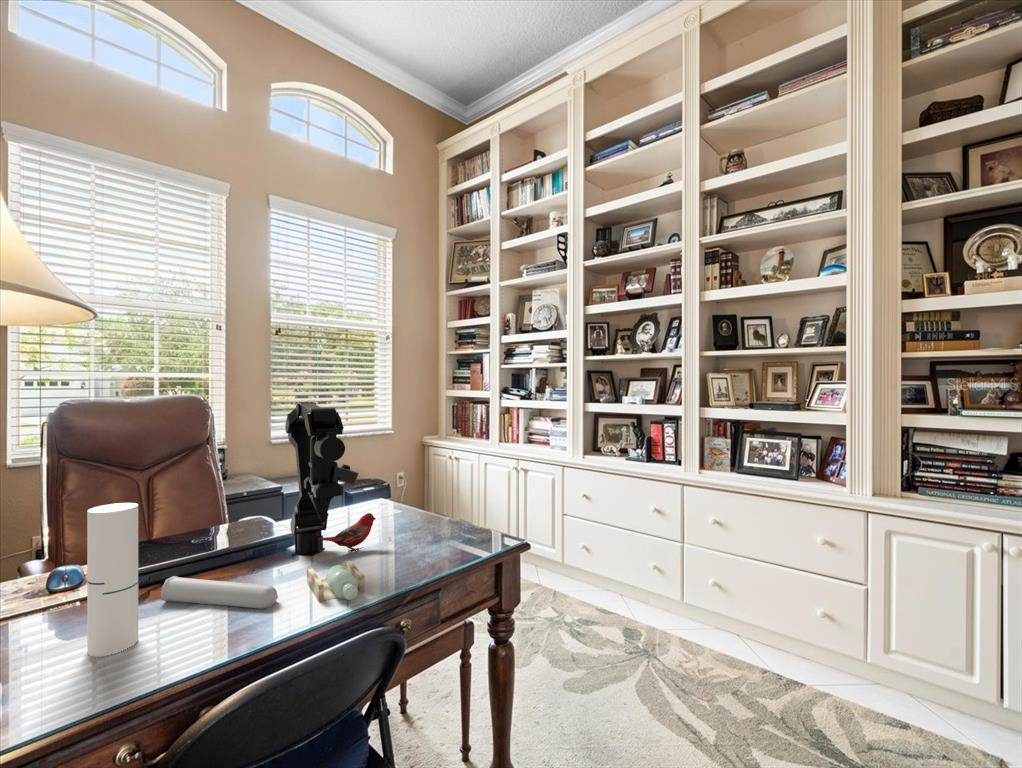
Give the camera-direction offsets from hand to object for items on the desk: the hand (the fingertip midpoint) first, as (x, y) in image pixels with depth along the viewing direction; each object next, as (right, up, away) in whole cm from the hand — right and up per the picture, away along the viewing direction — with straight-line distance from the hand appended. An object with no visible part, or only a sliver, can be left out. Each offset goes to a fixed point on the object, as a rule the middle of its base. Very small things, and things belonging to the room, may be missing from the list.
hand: (323, 520), depth 123 cm
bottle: (+7, -10, -9) cm, 15 cm away
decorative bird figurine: (+2, -13, +14) cm, 19 cm away
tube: (-15, -14, -17) cm, 27 cm away
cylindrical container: (-25, -13, -34) cm, 44 cm away
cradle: (+6, -13, -10) cm, 17 cm away
